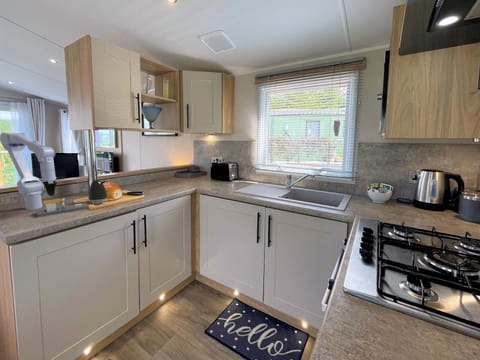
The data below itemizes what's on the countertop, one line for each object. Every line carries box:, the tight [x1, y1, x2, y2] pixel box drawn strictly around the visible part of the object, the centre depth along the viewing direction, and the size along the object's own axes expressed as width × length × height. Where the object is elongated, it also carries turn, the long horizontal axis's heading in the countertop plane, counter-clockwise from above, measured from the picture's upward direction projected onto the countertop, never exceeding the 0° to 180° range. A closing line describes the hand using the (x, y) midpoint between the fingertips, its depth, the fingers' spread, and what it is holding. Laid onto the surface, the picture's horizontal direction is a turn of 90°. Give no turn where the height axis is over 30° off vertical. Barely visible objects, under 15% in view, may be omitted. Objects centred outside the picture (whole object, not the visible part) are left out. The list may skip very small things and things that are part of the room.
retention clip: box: [42, 197, 66, 205], centre depth 123 cm, size 2×9×2 cm, turn 135°
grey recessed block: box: [35, 201, 90, 218], centre depth 126 cm, size 9×22×6 cm, turn 135°
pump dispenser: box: [87, 179, 108, 205], centre depth 144 cm, size 10×10×15 cm
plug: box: [44, 203, 57, 212], centre depth 123 cm, size 4×4×5 cm
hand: (51, 194), depth 125 cm, fingers open, 4 cm apart
